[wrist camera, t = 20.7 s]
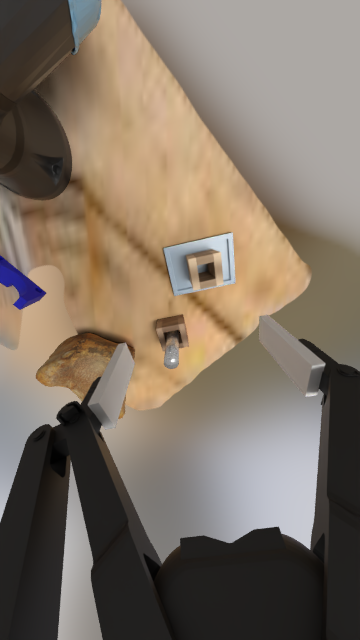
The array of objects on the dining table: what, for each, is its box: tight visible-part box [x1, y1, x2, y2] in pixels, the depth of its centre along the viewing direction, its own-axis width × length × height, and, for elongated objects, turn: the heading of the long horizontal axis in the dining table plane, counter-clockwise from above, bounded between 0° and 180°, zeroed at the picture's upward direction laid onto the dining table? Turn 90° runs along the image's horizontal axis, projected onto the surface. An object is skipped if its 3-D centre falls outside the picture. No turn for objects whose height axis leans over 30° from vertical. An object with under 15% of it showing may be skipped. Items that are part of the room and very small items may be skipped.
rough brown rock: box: [36, 333, 135, 419], centre depth 43 cm, size 23×17×15 cm
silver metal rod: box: [164, 330, 179, 369], centre depth 40 cm, size 3×3×14 cm
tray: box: [163, 233, 235, 296], centre depth 38 cm, size 11×15×1 cm
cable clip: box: [0, 256, 46, 309], centre depth 36 cm, size 12×4×6 cm, turn 38°
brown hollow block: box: [156, 315, 189, 351], centre depth 44 cm, size 7×7×5 cm
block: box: [186, 249, 224, 291], centre depth 35 cm, size 6×6×8 cm
